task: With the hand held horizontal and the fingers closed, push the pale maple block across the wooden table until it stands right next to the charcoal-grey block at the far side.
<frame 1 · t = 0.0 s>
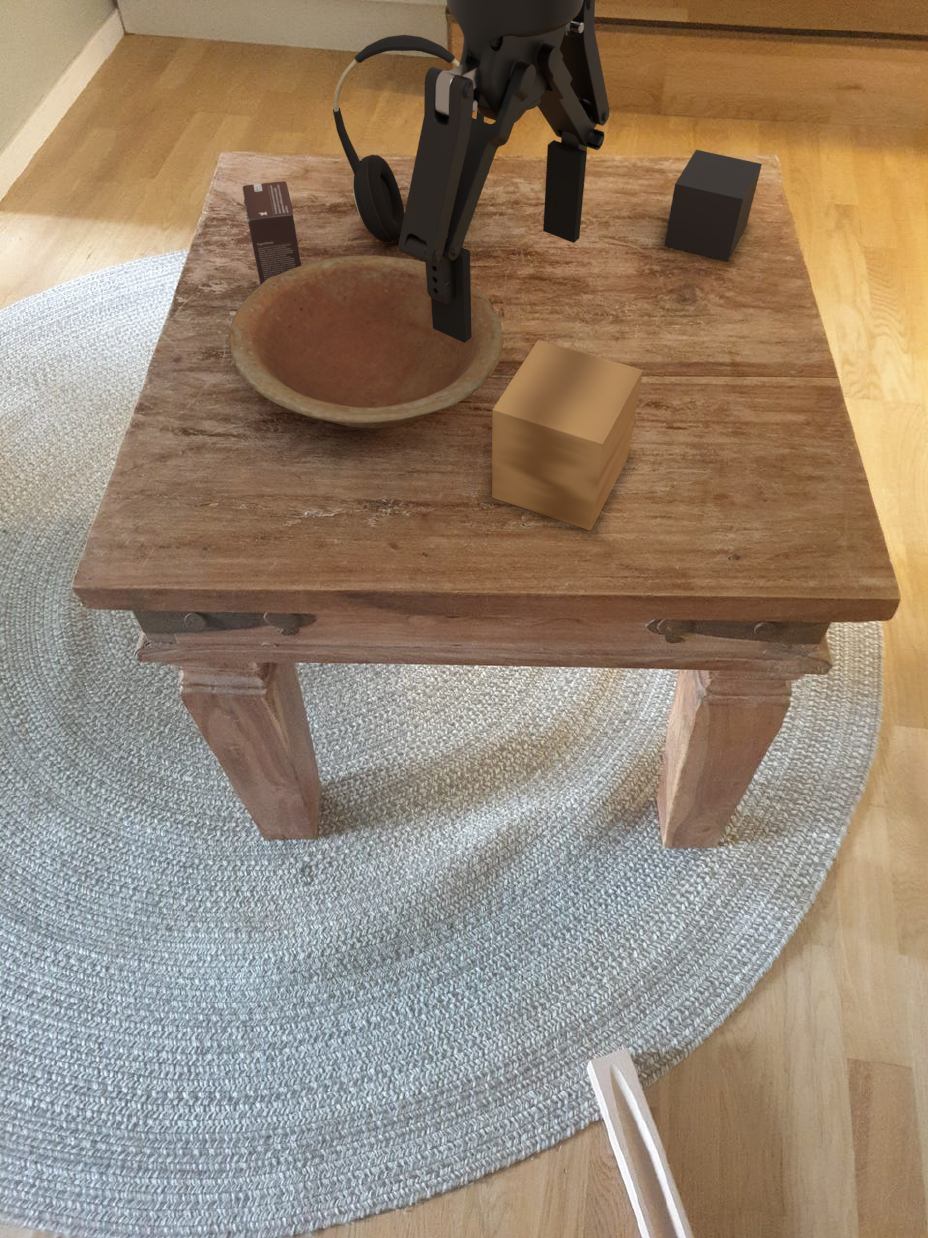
hand: (509, 281, 65), 19 cm above the table, tool pointing down, fingers open, 13 cm apart
box: (289, 312, 94), on the table
headphones: (417, 237, 101), on the table
bowl: (375, 394, 87), on the table
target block: (705, 235, 100), on the table
push block: (560, 478, 80), on the table
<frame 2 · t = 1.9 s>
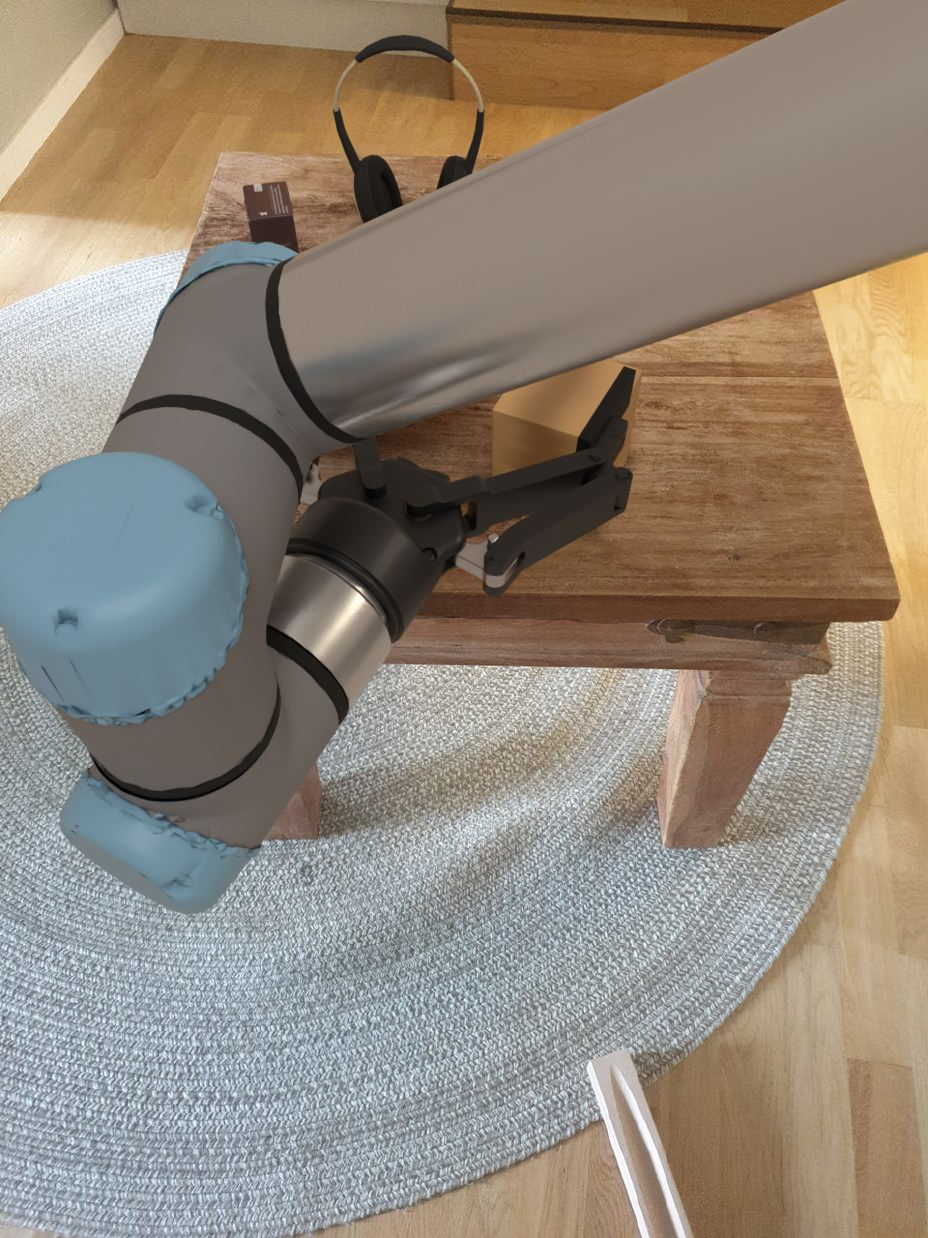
hand: (522, 349, 56), 22 cm above the table, tool horizontal, fingers open, 13 cm apart
nothing on the table moved.
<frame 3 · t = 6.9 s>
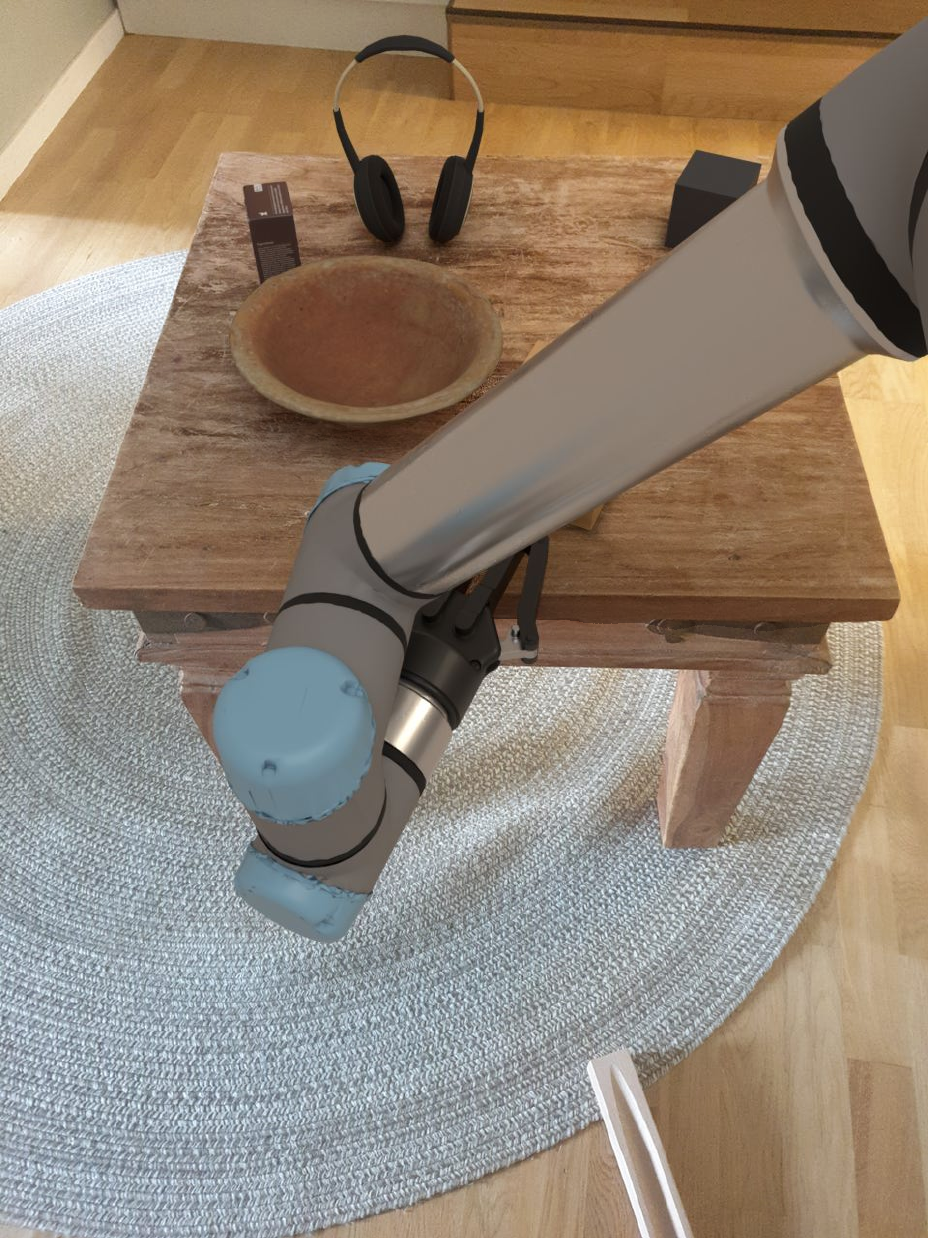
hand: (542, 466, 73), 6 cm above the table, tool horizontal, fingers closed
push block: (560, 478, 80), on the table, touching gripper
everything else where it was.
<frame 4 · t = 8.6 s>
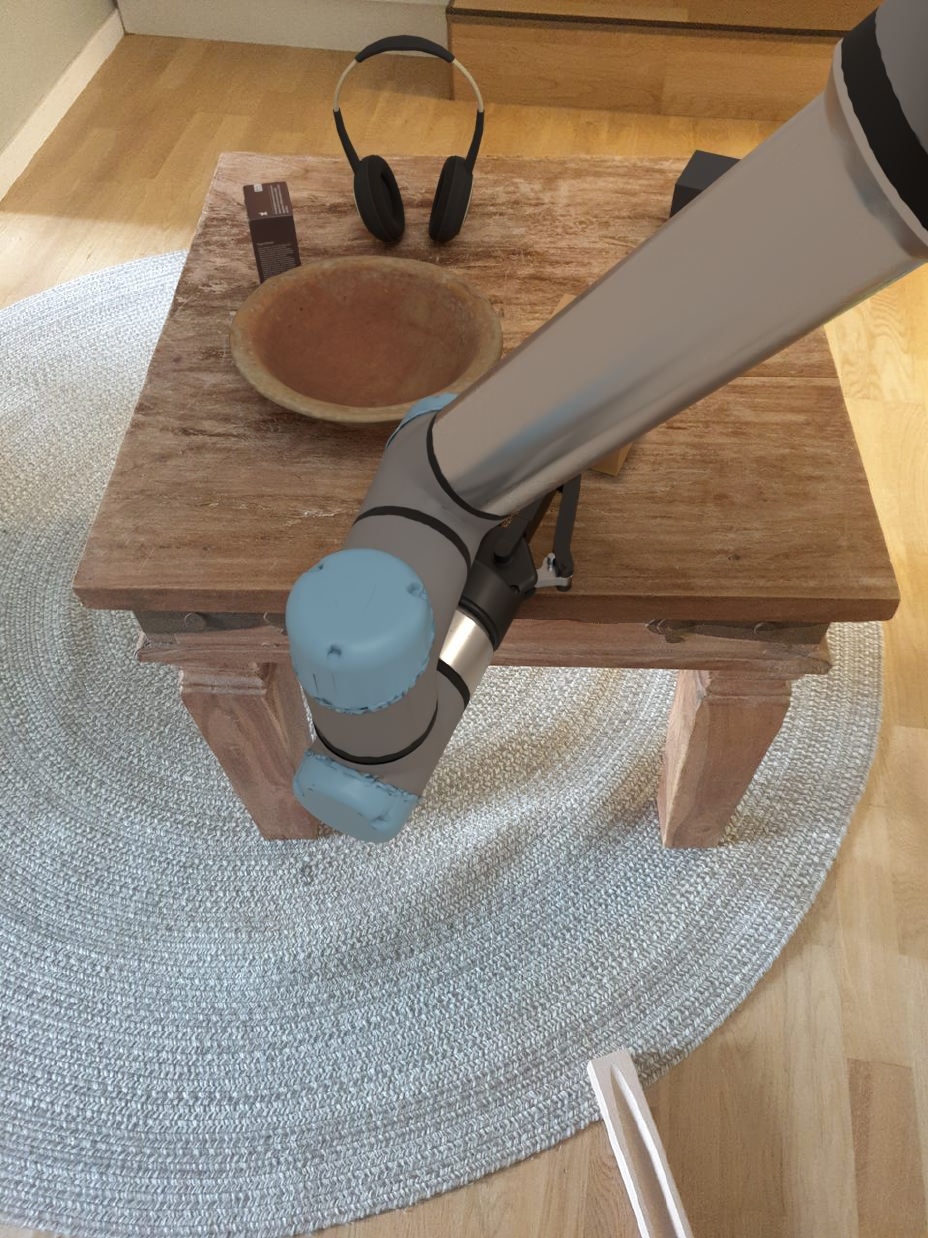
hand: (571, 410, 76), 6 cm above the table, tool horizontal, fingers closed
push block: (585, 428, 83), on the table, touching gripper
everything else where it was.
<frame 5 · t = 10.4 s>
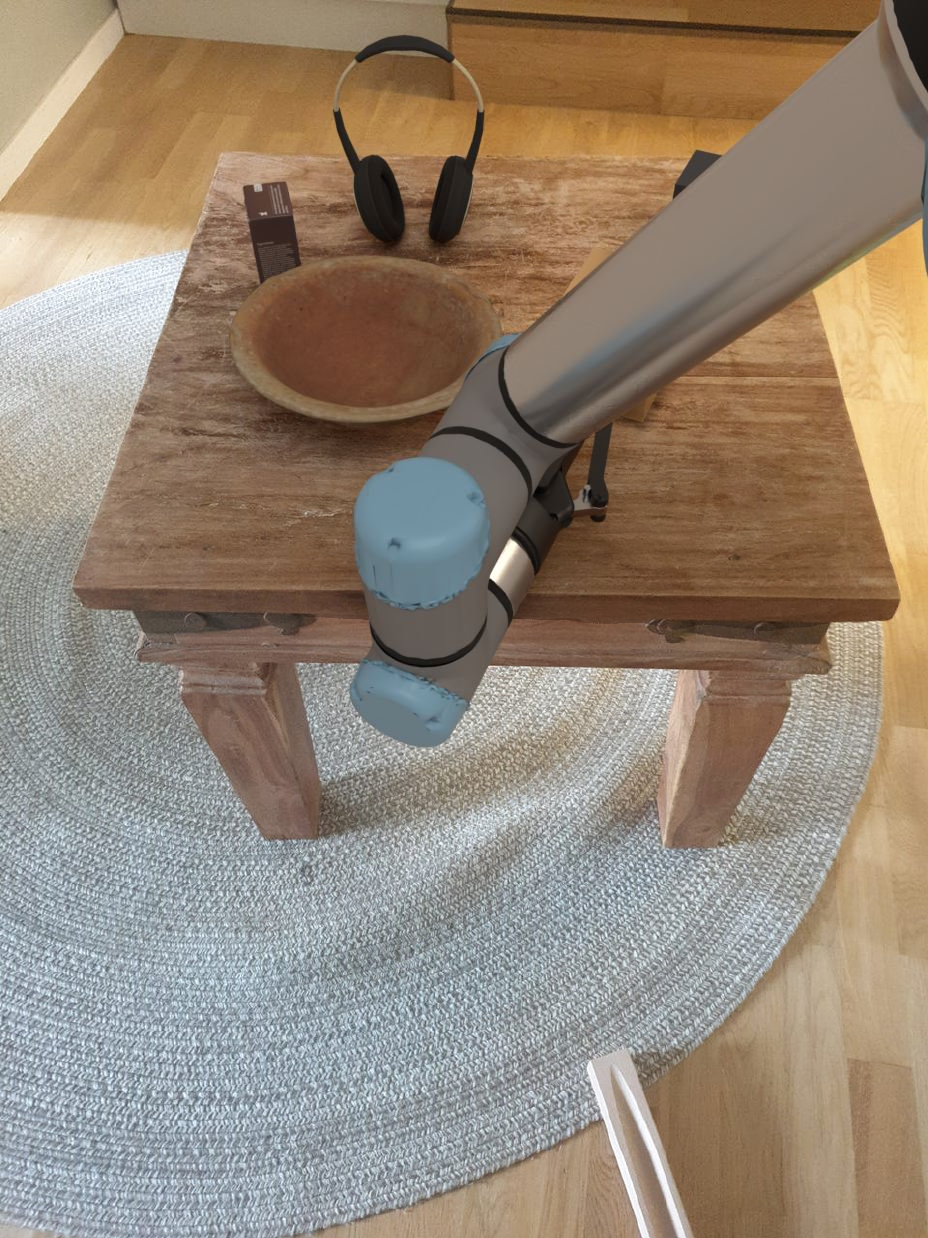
hand: (601, 357, 80), 6 cm above the table, tool horizontal, fingers closed
push block: (612, 378, 87), on the table, touching gripper
everything else where it was.
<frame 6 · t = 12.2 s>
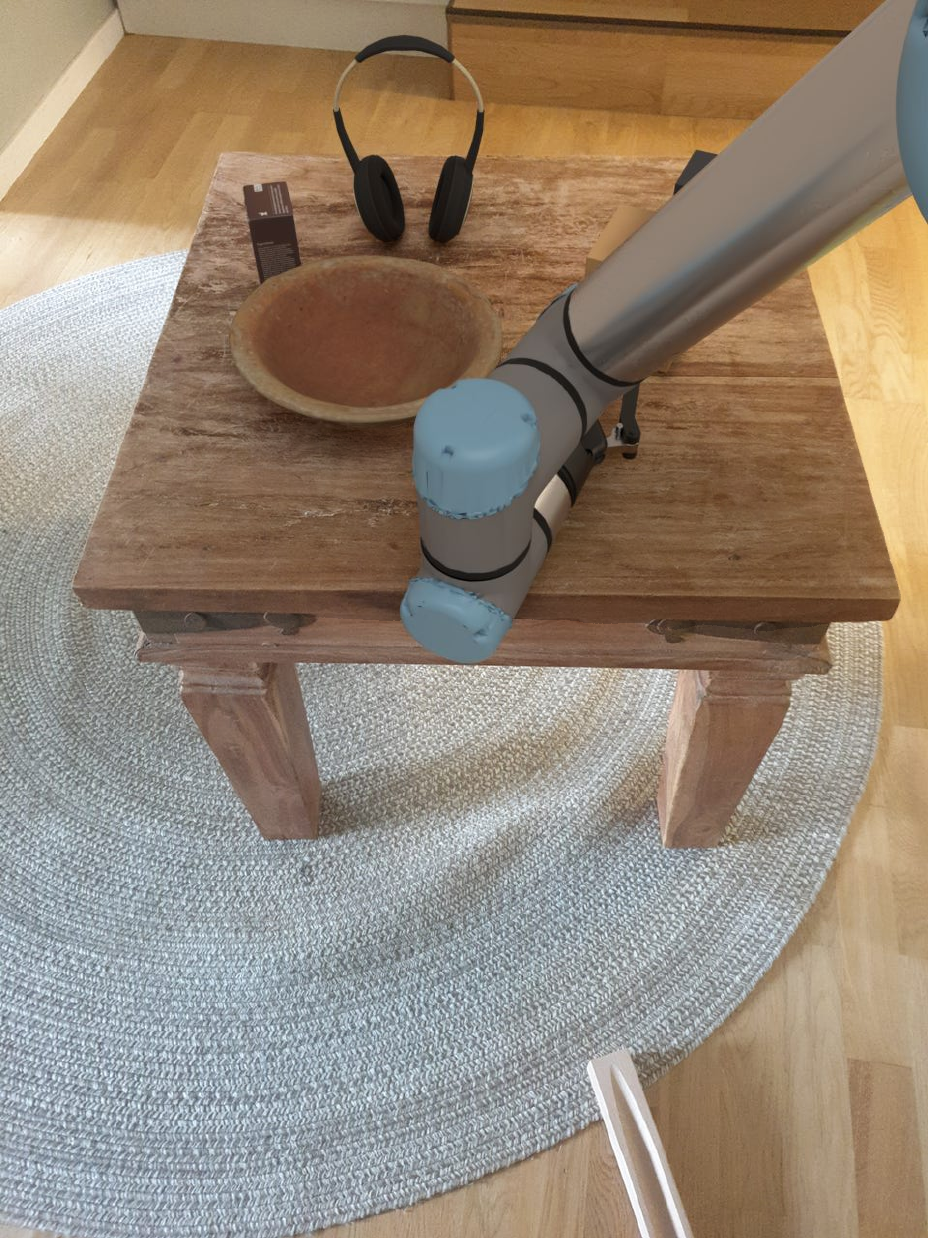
hand: (629, 308, 83), 6 cm above the table, tool horizontal, fingers closed
push block: (636, 332, 91), on the table, touching gripper
everything else where it was.
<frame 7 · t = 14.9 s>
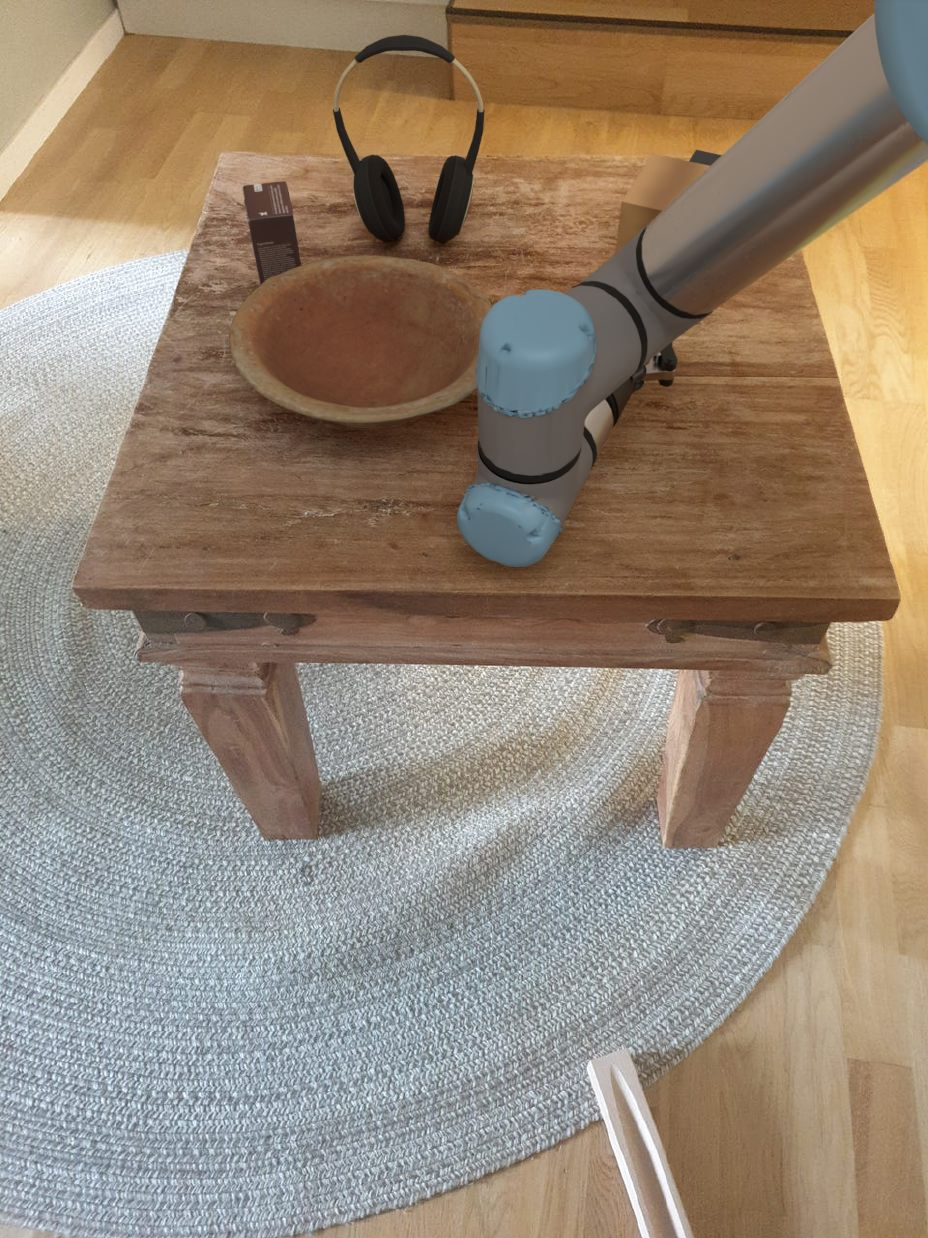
hand: (663, 250, 88), 6 cm above the table, tool horizontal, fingers closed
push block: (665, 278, 95), on the table, touching gripper
everything else where it was.
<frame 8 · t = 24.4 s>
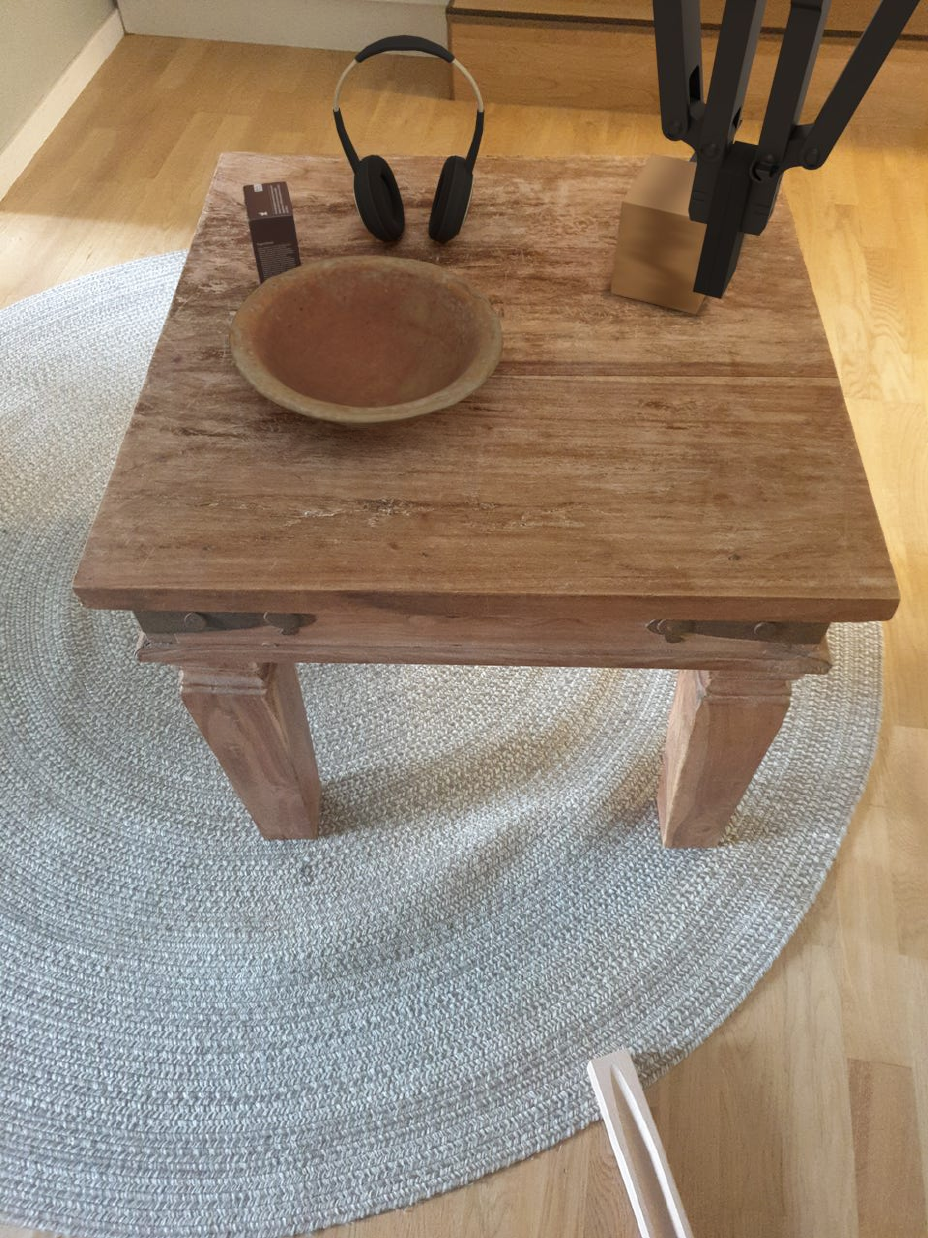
hand: (714, 280, 48), 29 cm above the table, tool pointing down, fingers closed
push block: (665, 278, 95), on the table
everything else where it was.
at the end: push block 8.9 cm from the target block (horizontally); push block tilted 0°; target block moved 0.0 cm from its start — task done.
